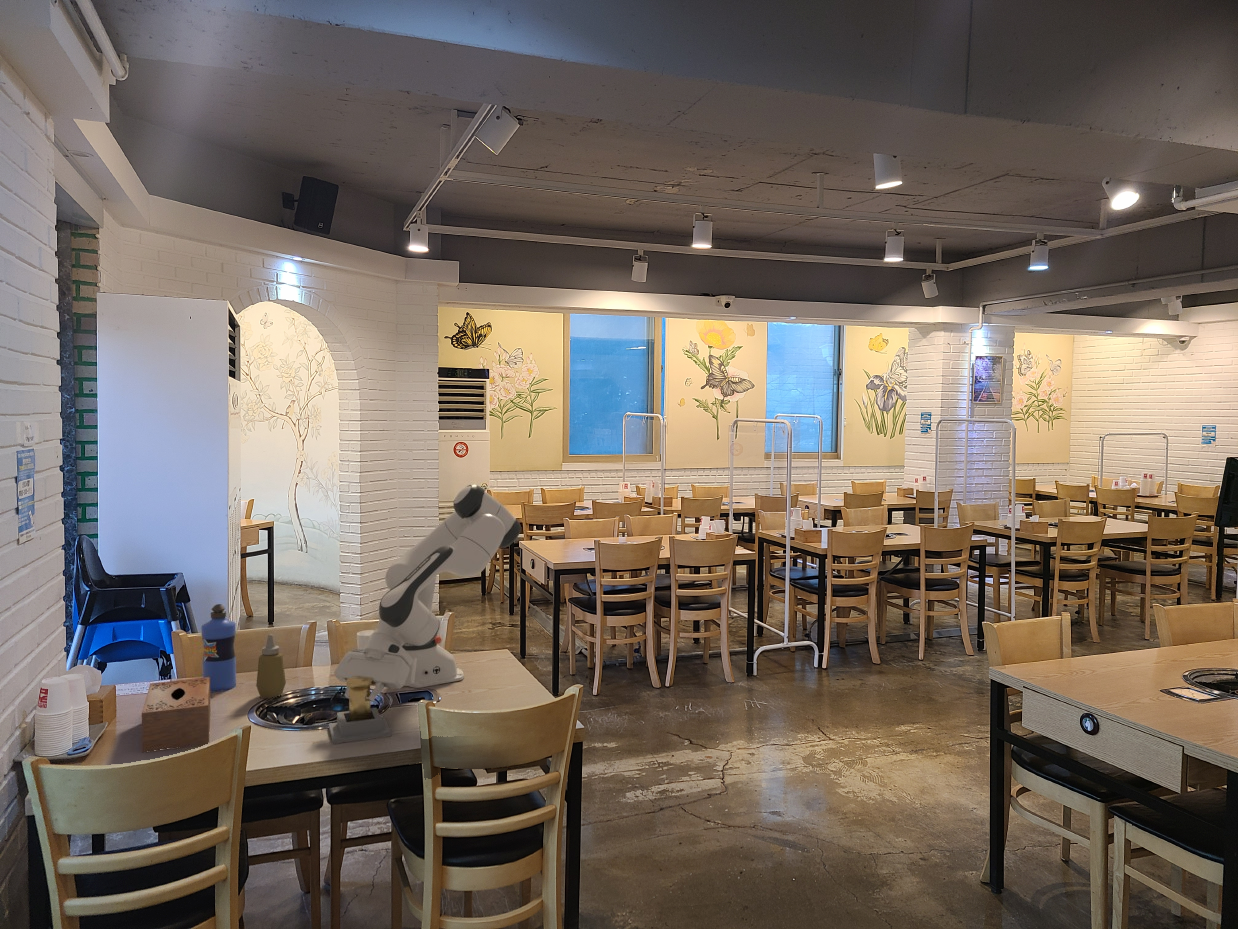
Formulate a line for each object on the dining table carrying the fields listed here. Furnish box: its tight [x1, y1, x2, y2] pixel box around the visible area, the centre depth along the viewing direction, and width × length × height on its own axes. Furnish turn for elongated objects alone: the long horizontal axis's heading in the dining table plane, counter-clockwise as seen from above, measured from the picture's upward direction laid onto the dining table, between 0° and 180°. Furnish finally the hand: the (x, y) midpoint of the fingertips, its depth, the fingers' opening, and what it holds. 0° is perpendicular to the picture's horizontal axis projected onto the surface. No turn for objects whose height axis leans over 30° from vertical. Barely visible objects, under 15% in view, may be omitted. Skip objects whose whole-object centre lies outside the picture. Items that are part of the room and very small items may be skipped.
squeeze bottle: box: [255, 634, 287, 699], centre depth 247 cm, size 8×8×18 cm
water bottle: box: [200, 603, 237, 693], centre depth 255 cm, size 9×9×25 cm
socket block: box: [328, 707, 392, 745], centre depth 219 cm, size 14×12×4 cm
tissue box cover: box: [141, 677, 211, 753], centre depth 219 cm, size 26×14×10 cm, turn 25°
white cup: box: [356, 629, 376, 649], centre depth 283 cm, size 8×8×10 cm
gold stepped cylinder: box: [346, 676, 373, 722], centre depth 218 cm, size 6×6×11 cm
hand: (358, 698), depth 218 cm, fingers closed on gold stepped cylinder, 5 cm apart
